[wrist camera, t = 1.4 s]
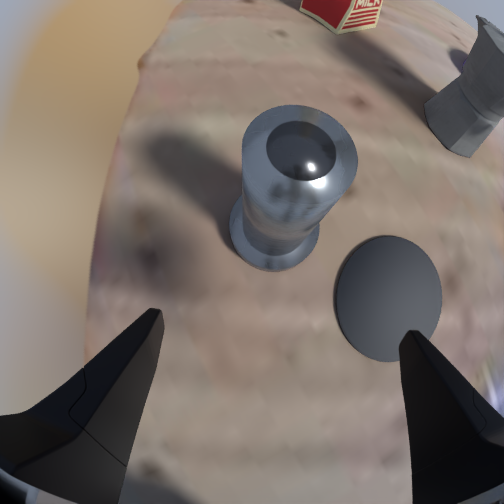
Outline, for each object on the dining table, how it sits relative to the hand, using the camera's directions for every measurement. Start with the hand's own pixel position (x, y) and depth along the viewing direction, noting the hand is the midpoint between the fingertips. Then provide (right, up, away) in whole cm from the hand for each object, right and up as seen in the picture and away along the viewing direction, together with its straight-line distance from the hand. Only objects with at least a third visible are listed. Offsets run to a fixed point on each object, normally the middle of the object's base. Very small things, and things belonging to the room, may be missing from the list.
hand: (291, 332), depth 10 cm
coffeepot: (+24, +17, +18) cm, 34 cm away
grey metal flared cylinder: (0, +5, +14) cm, 15 cm away
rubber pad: (+11, -1, +13) cm, 17 cm away
